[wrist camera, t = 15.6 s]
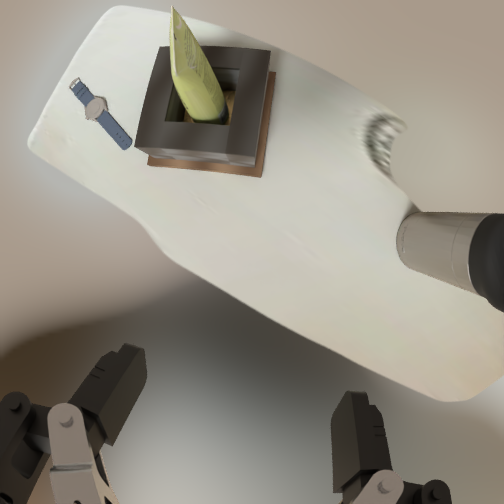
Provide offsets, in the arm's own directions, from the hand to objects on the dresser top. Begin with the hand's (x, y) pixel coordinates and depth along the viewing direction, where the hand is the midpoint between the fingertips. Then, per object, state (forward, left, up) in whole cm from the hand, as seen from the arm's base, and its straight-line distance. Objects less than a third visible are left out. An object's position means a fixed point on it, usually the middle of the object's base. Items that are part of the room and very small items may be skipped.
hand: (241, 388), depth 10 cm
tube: (+8, -19, -28) cm, 35 cm away
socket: (+8, -20, -31) cm, 37 cm away
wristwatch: (+28, -21, -31) cm, 47 cm away
